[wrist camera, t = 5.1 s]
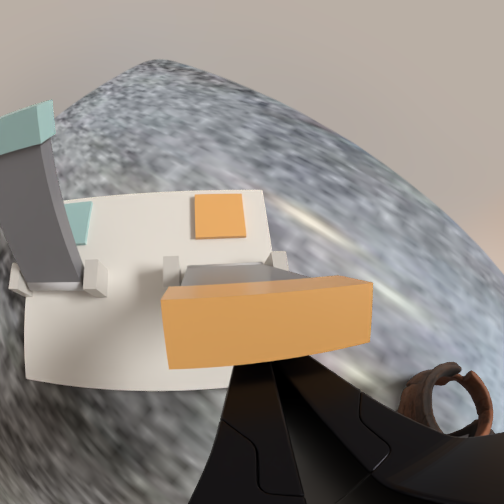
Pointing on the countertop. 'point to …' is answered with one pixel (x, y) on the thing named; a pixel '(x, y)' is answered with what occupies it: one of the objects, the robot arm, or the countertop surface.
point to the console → (137, 286)
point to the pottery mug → (421, 385)
